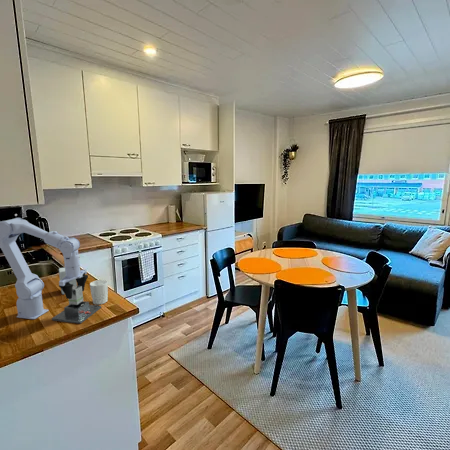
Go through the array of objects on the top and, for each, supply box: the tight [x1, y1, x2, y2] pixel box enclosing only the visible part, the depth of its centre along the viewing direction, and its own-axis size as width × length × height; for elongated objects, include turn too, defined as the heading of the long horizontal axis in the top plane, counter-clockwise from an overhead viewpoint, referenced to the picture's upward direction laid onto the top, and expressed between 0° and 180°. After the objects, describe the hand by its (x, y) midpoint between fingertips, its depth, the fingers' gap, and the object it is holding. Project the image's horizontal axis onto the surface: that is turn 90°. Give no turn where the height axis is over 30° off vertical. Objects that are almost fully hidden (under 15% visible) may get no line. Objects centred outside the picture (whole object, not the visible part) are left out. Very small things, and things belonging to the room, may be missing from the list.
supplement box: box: [58, 266, 78, 295], centre depth 146 cm, size 7×7×13 cm
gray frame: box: [51, 300, 102, 325], centre depth 123 cm, size 14×14×5 cm
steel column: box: [68, 285, 84, 305], centre depth 121 cm, size 4×4×7 cm
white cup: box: [89, 279, 109, 306], centre depth 134 cm, size 8×8×10 cm
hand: (75, 294), depth 121 cm, fingers open, 7 cm apart
